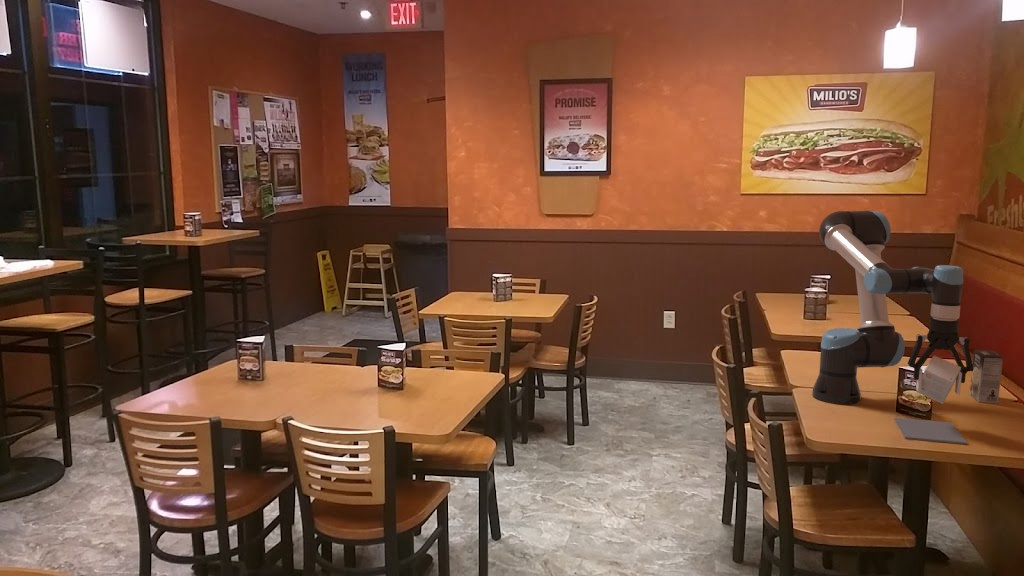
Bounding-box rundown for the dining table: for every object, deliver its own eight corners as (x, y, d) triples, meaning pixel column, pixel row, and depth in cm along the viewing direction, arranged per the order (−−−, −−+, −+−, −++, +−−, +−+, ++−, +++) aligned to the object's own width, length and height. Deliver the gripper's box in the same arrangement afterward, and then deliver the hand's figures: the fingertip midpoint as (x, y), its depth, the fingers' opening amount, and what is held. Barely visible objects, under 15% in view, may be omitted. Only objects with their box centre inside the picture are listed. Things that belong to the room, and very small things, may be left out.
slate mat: (905, 438, 229) (905, 436, 229) (894, 419, 246) (894, 417, 246) (966, 444, 224) (967, 442, 224) (951, 424, 241) (951, 422, 241)
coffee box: (968, 394, 272) (972, 349, 270) (988, 395, 271) (993, 350, 268) (978, 402, 263) (983, 355, 261) (999, 403, 262) (1004, 356, 260)
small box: (951, 389, 240) (962, 367, 230) (942, 404, 237) (953, 383, 227) (924, 376, 244) (933, 354, 234) (915, 391, 241) (924, 370, 231)
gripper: (983, 318, 232) (976, 391, 236) (900, 313, 238) (894, 385, 242) (991, 323, 225) (983, 398, 229) (905, 318, 231) (898, 392, 235)
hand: (937, 391), depth 235 cm, fingers closed on small box, 10 cm apart
